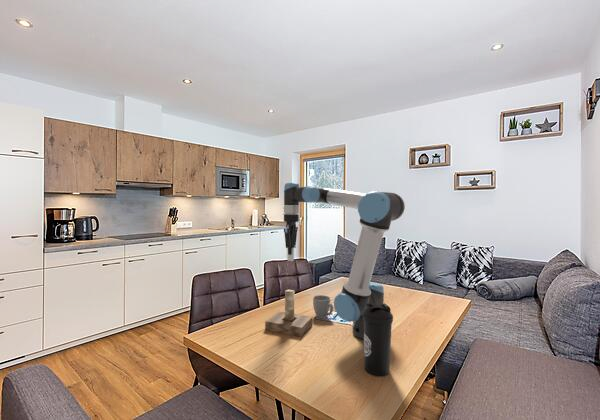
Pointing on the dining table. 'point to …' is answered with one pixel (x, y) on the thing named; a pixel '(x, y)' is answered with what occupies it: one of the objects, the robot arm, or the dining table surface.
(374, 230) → the robot arm
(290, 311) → the peg
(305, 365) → the dining table surface
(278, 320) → the board
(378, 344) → the water bottle
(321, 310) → the mug
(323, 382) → the dining table surface
